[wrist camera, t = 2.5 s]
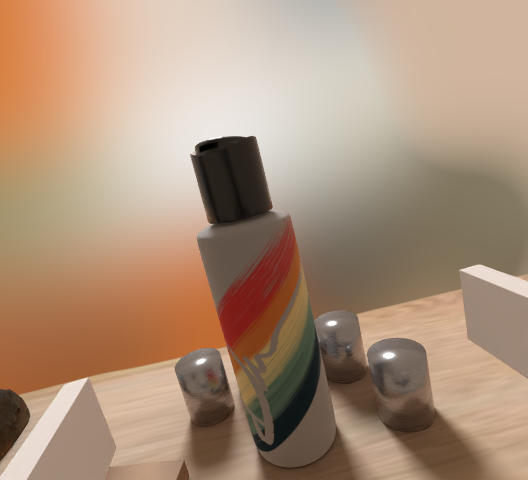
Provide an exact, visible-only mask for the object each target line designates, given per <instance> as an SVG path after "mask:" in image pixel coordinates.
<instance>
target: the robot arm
mask: <svg viewBox="0 0 528 480" xmlns="http://www.w3.org/2000/svg"><path fill="white" fill-rule="evenodd" d="M460 278H461V286H462V294H463V302H464V310H465V318H466V326H467V334H468V339H469V340H471V341H472V342H474V343H475V344H477V345H478V346H480V347H481V348H483V349H484V350H486V351H487V352H489V353H490V354H492V355H493V356H495V357H496V358H498V359H499V360H501V361H502V362H504V363H505V364H507V365H508V366H510V367H511V368H513V369H514V370H516V371H517V372H519V373H520V374H522V375H523V376H525V377H526V378H528V281H525V280H522V279H519V278H516V277H513V276H511V275H508V274H505V273H502V272H499V271H497V270H494V269H491V268H488V267H485V266H482V265H480V264H479V265H475V266H472V267H468V268H465V269H461V270H460ZM115 449H116V445H115V443H114V440H113V438H112V435H111V433H110V430H109V428H108V425H107V423H106V420H105V417H104V415H103V412H102V410H101V407H100V405H99V402H98V400H97V397H96V395H95V392H94V390H93V387H92V385H91V382H90V380H89V377H88V378H85V379H81V380H78V381H74V382H71V383H67V384H65V385H64V386H63V388H62V389H61V390H60V392H59V393H58V395H57V396H56V398H55V399H54V400H53V402H52V403H51V405H50V406H49V408H48V409H47V410H46V412H45V413H44V415H43V416H42V418H41V419H40V420H39V422H38V423H37V425H36V426H35V428H34V429H33V430H32V432H31V433H30V435H29V436H28V438H27V439H26V440H25V442H24V443H23V445H22V446H21V448H20V449H19V450H18V452H17V453H16V455H15V456H14V458H13V459H12V461H11V462H10V463H9V465H8V466H7V468H6V469H5V471H4V472H3V473H2V475H1V476H0V480H105V478H106V475H107V472H108V469H109V466H110V463H111V461H112V458H113V455H114V452H115Z"/></svg>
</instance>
